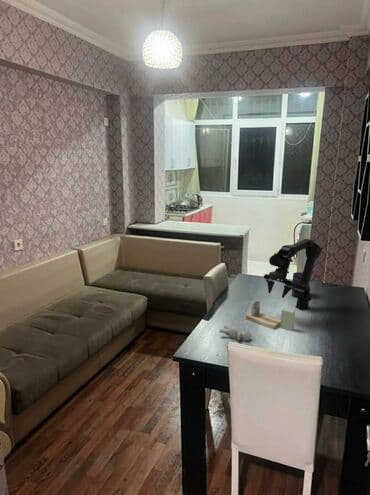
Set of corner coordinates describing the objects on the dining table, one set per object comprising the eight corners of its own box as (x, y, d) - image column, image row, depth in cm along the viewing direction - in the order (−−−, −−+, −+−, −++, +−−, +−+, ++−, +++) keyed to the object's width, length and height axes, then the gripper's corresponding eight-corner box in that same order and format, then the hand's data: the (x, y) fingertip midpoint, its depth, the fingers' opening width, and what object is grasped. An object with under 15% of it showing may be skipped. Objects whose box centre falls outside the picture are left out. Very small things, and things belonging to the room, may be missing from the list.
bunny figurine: (247, 337, 171) (218, 327, 178) (246, 346, 173) (217, 336, 179) (253, 329, 180) (225, 320, 186) (252, 338, 181) (224, 329, 187)
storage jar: (308, 295, 240) (310, 273, 237) (304, 299, 232) (306, 277, 228) (293, 292, 245) (295, 271, 242) (289, 296, 237) (291, 275, 234)
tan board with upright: (256, 314, 208) (257, 297, 206) (283, 323, 195) (284, 306, 193) (245, 318, 201) (246, 302, 199) (273, 329, 189) (274, 311, 186)
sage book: (282, 325, 193) (283, 308, 191) (293, 328, 190) (295, 310, 188) (280, 327, 190) (281, 310, 188) (292, 330, 187) (293, 312, 185)
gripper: (261, 262, 201) (253, 289, 201) (288, 269, 186) (281, 298, 187) (273, 265, 208) (266, 291, 208) (300, 272, 193) (293, 300, 194)
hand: (275, 295), depth 199 cm, fingers open, 9 cm apart
